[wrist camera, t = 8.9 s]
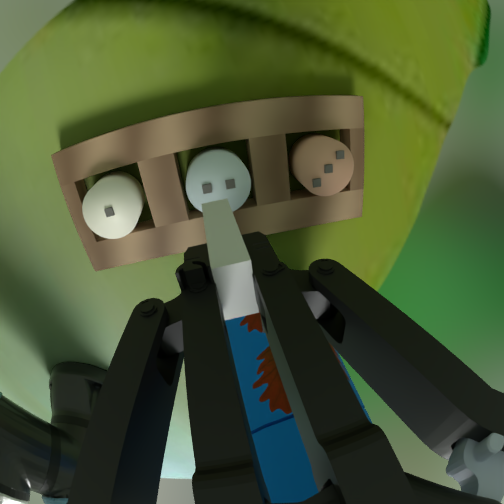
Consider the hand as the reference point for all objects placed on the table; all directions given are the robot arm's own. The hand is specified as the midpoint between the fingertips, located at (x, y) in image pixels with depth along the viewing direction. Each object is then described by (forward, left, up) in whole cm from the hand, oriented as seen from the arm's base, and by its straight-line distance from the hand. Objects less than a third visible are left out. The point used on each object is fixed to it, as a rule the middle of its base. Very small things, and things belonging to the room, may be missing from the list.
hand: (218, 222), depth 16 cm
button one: (-8, 0, -9) cm, 12 cm away
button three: (+10, 0, -9) cm, 13 cm away
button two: (+1, 0, -9) cm, 9 cm away
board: (+1, 0, -9) cm, 9 cm away
